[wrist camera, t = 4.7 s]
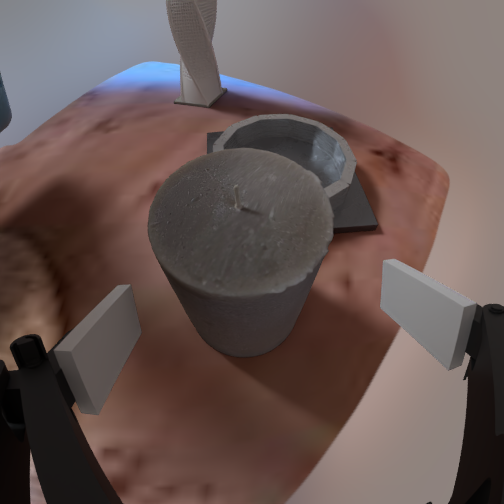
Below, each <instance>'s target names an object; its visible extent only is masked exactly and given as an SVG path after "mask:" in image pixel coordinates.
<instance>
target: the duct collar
mask: <svg viewBox="0 0 504 504" xmlns="http://www.w3.org/2000/svg"><path fill="white" fill-rule="evenodd" d="M319 123H320V122H318V121H315V120H311V119H307V118H304V117H300V116H296V115H292V114H290V116H289V114H268V115H259V117H258V116H257V115H256V116H253V117H251V118H248V119H245V120H243V121H240V122H238V123H235V124H232V125H231V126H229V127H228V128H227V129H226V130H225V131H223V132H213V133H207V154H209V153H212V152H217V151H221V150H225V149H236V148H253V149H259V150H264V151H269V152H273V153H276V154H279V155H281V156H284V157H286V158H288V159H290V160H292V161H294V162H296V163H297V164H298V165H301V166H302V167H303V168H304V169H305V170H307V171H311V172H313V173H314V174H315V175H316V176H318V177H319V179H320V181H322V183H321V186H322V187H323V188H324V190H325V192H326V193H327V195H328V196H329V200H330V204H331V206H332V210H333V214H334V219H333V224H334V226H333V233H344V232H357V231H369V230H375V229H376V228H377V226H378V223H377V221H376V218H375V216H374V214H373V211H372V209H371V206H370V204H369V202H368V200H367V197H366V195H365V193H364V191H363V188H362V186H361V184H360V182H359V180H358V178H357V175H356V173H355V167H356V163H357V162H356V161H357V160H356V158H355V156H354V155H353V153H352V151H351V149H350V147H349V145H348V143H347V141H346V140H344V138H343V137H342V136H340V135H339V134H337V133H336V132H334V130H333V128H332V127H327V126H326V125H324V124H323V123H320V124H319Z"/></svg>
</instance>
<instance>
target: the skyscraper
mask: <svg viewBox="0 0 504 504" xmlns="http://www.w3.org/2000/svg"><path fill="white" fill-rule="evenodd" d="M166 6H167V14H168V19H169V24H170V28H171V31H172V34H173V38H174V41H175V43H176V46H177V48H178V51H179V53H180V85H181V96H180V97H178V98H177V99H176V100H175V101H174V104H183V105H191V106H199V107H206V108H209V107H210V106H211V105H212V104H213V103H214V102H215V101H216V100H217V99H219V98H220V97H221V96H222V95H223V94H224V93H225V92H226V91H227V88H222V87H221V81H220V76H219V71H218V66H217V62H216V58H215V54H214V50H213V46H212V38H213V34H214V28H215V22H216V12H217V11H216V10H217V0H166Z"/></svg>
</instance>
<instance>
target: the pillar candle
mask: <svg viewBox="0 0 504 504" xmlns="http://www.w3.org/2000/svg"><path fill="white" fill-rule="evenodd" d="M321 183H322V181H320V179H319V177H318V176H316V175H315V174H314V173H313V172H311V171H307V170H305V169H304V168H303V167H302V166H301V165H298V164H297V163H296V162H294V161H292V160H290V159H288V158H286V157H284V156H281V155H279V154H276V153H273V152H269V151H264V150H259V149H253V148H236V149H225V150H221V151H217V152H212V153H209V154H207V155H203V156H200V157H198V158H196V159H194V160H192V161H189V162H187V163H186V164H185V165H183V166H182V167H180V168H179V169H178V170H177V171H176V172H174V173H173V174H172V175H170V176H169V178H167V179H166V181H165V182H164V183H163V185H162V186H161V187H160V189H159V190H158V192H157V194H156V196H155V198H154V200H153V203H152V205H151V206H150V211H149V220H148V236H149V240H150V243H151V246H152V249H153V252H154V254H155V256H156V258H157V260H158V262H159V264H160V266H161V268H162V270H163V271H164V273H165V275H166V277H167V279H168V280H169V282H170V284H171V286H172V288H173V290H174V291H175V293H176V295H177V297H178V299H179V300H180V302H181V304H182V306H183V308H184V310H185V311H186V313H187V315H188V317H189V318H190V320H191V322H192V323H193V325H194V327H195V328H196V330H197V332H198V333H199V335H200V336H201V337H202V338H203V339H204V341H205V342H206V343H207V344H209V345H210V346H211V347H213V348H214V349H216V350H217V351H219V352H222V353H224V354H226V355H230V356H235V357H254V356H258V355H262V354H264V353H267V352H269V351H271V350H273V349H274V348H276V347H277V346H278V345H280V344H281V343H282V342H283V341H284V340H285V339H286V337H287V336H288V335H289V334H290V332H291V331H292V329H293V327H294V325H295V322H296V320H297V318H298V316H299V314H300V312H301V310H302V307H303V305H304V303H305V301H306V298H307V296H308V294H309V291H310V289H311V286H312V284H313V282H314V280H315V277H316V275H317V273H318V270H319V268H320V265H321V263H322V260H323V259H324V256H325V255H326V254H327V253H328V246H329V244H330V242H331V241H332V238H333V236H334V234H333V226H334V224H333V219H334V214H333V210H332V206H331V204H330V200H329V196H328V195H327V193H326V192H325V190H324V188H323V187H322V186H321Z"/></svg>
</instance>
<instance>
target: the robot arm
mask: <svg viewBox="0 0 504 504" xmlns="http://www.w3.org/2000/svg"><path fill="white" fill-rule="evenodd" d="M11 118H12V113H11V109H10V106H9V102H8V98H7V95H6V92H5V88H4V85H3V81H2V77H1V73H0V132H2V131H3V130H4V129H5V128H6V127H7V126H8V125H9V123H10V121H11ZM380 308H381V309H382V310H383V311H384V312H385V313H387V314H388V315H389V316H390V317H391V318H392V319H393V320H394V321H395V322H397V323H398V324H399V325H400V326H401V327H402V328H403V329H404V330H406V331H407V332H408V333H409V334H410V335H411V336H412V337H413V338H414V339H415V340H416V341H417V342H418V343H420V344H421V345H422V346H423V347H424V348H425V349H426V350H427V351H428V352H429V353H430V354H431V355H432V356H433V357H435V358H436V359H437V360H438V361H439V362H440V363H441V364H442V365H443V366H444V367H445V368H446V369H447V370H451V369H454V368H456V367H459V366H461V365H462V362H463V359H464V355H465V352H466V353H467V354H469V355H470V356H471V357H470V360H469V364H468V367H467V370H466V373H465V376H464V379H463V380H466V377H468V393H467V408H466V419H465V429H464V437H463V444H462V450H461V456H460V462H459V467H458V472H457V477H456V481H455V486H454V490H453V494H452V497H451V499H450V501H449V503H448V504H504V306H501V305H499V304H488V305H485V306H484V307H481V306H480V305H478V304H477V303H476V302H474V301H472V300H470V299H469V298H467V297H465V296H463V295H462V294H460V293H458V292H456V291H455V290H453V289H451V288H449V287H447V286H445V285H444V284H442V283H440V282H438V281H436V280H434V279H432V278H430V277H429V276H427V275H425V274H423V273H421V272H419V271H417V270H415V269H413V268H412V267H410V266H408V265H406V264H404V263H402V262H400V261H398V260H396V259H391V260H383V273H382V290H381V303H380ZM141 333H142V331H141V327H140V323H139V319H138V315H137V310H136V306H135V301H134V296H133V292H132V287H131V284H129V285H118V286H117V287H115V288H114V289H113V290H112V291H111V292H110V293H109V294H108V295H107V296H106V297H105V298H104V299H103V300H102V301H101V302H100V303H99V304H98V305H97V306H96V307H95V308H94V309H93V310H92V311H91V312H90V313H89V314H88V315H87V316H86V317H85V318H84V319H83V320H82V321H81V322H80V323H79V324H78V325H77V326H76V327H75V328H74V329H72V330H70V331H69V332H67V333H66V334H65V335H64V336H63V337H62V339H60V340H59V341H58V342H57V344H55V346H54V347H53V348H52V349H51V350H50V351H49V352H48V353H46V350H45V347H44V345H43V342H42V339H41V337H40V336H39V335H36V334H30V335H25V336H22V337H20V338H18V339H16V340H15V341H13V342H12V343H11V345H10V350H11V352H12V355H13V357H14V359H15V362H16V364H17V366H18V370H13V371H8V370H7V368H6V365H5V363H4V362H3V360H0V504H31V503H30V449H31V453H32V457H33V461H34V465H35V469H36V472H37V475H38V479H39V482H40V485H41V488H42V491H43V494H44V497H45V500H46V502H47V504H123V503H122V501H121V500H120V498H119V497H118V495H117V493H116V492H115V490H114V489H113V487H112V485H111V484H110V482H109V480H108V479H107V477H106V475H105V474H104V472H103V470H102V468H101V467H100V465H99V463H98V461H97V459H96V458H95V456H94V454H93V452H92V450H91V448H90V446H89V444H88V442H87V440H86V438H85V436H84V434H83V431H82V429H81V427H80V425H79V423H78V420H77V418H76V416H75V414H74V412H73V410H72V408H71V407H72V406H73V404H74V402H75V401H76V403H77V405H78V407H79V409H80V411H81V413H85V414H93V415H99V413H100V411H101V409H102V407H103V405H104V403H105V401H106V399H107V397H108V395H109V393H110V391H111V389H112V387H113V385H114V383H115V381H116V380H117V378H118V376H119V374H120V372H121V370H122V368H123V366H124V364H125V362H126V361H127V359H128V357H129V355H130V353H131V351H132V350H133V348H134V346H135V344H136V342H137V340H138V339H139V337H140V335H141ZM427 504H432V503H431V502H429V503H427Z"/></svg>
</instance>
